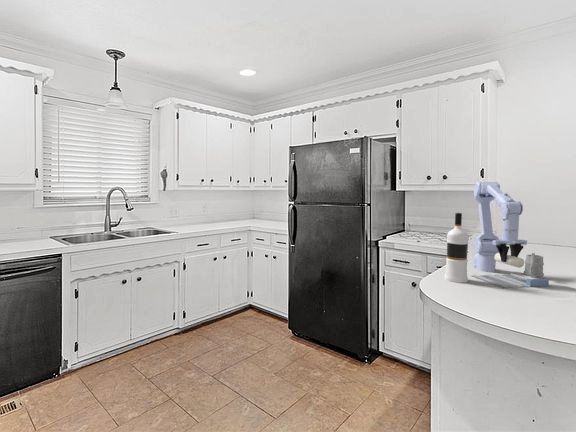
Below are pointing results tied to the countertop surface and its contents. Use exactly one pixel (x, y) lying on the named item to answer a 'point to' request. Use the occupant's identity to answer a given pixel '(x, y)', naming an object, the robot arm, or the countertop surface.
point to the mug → (534, 266)
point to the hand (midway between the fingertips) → (508, 261)
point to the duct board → (512, 281)
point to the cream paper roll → (510, 260)
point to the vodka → (457, 253)
